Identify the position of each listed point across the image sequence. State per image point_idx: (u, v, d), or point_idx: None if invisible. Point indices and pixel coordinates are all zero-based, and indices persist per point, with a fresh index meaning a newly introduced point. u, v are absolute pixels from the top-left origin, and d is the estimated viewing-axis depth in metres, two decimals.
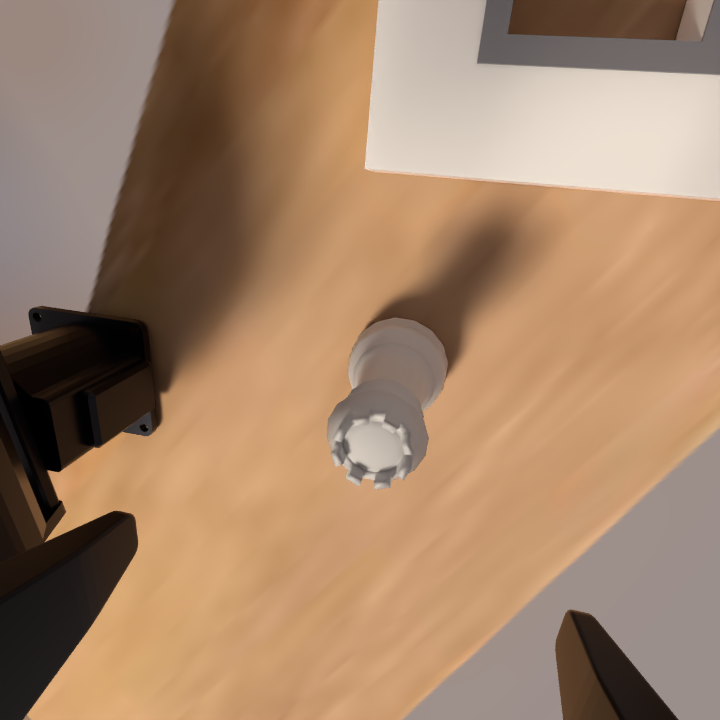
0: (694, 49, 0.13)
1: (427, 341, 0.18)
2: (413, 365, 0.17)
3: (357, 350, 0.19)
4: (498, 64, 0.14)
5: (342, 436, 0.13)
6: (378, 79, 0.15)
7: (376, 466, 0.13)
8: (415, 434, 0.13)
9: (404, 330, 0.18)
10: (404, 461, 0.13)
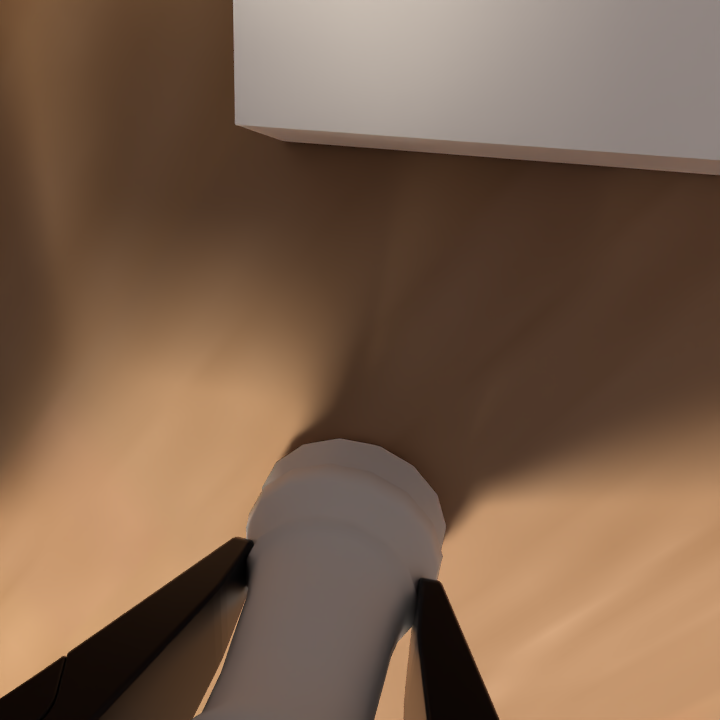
0: None
1: (401, 506, 0.08)
2: (364, 588, 0.07)
3: (258, 515, 0.09)
4: None
5: None
6: None
7: None
8: None
9: (352, 482, 0.08)
10: None
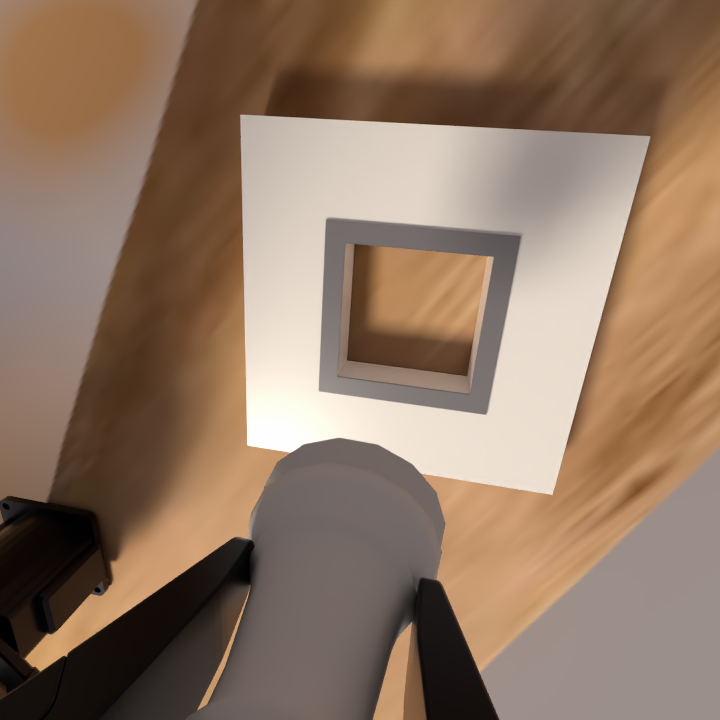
0: (465, 398, 0.18)
1: (400, 503, 0.09)
2: (364, 584, 0.07)
3: (259, 514, 0.09)
4: (333, 393, 0.19)
5: None
6: (250, 392, 0.20)
7: None
8: None
9: (352, 480, 0.09)
10: None
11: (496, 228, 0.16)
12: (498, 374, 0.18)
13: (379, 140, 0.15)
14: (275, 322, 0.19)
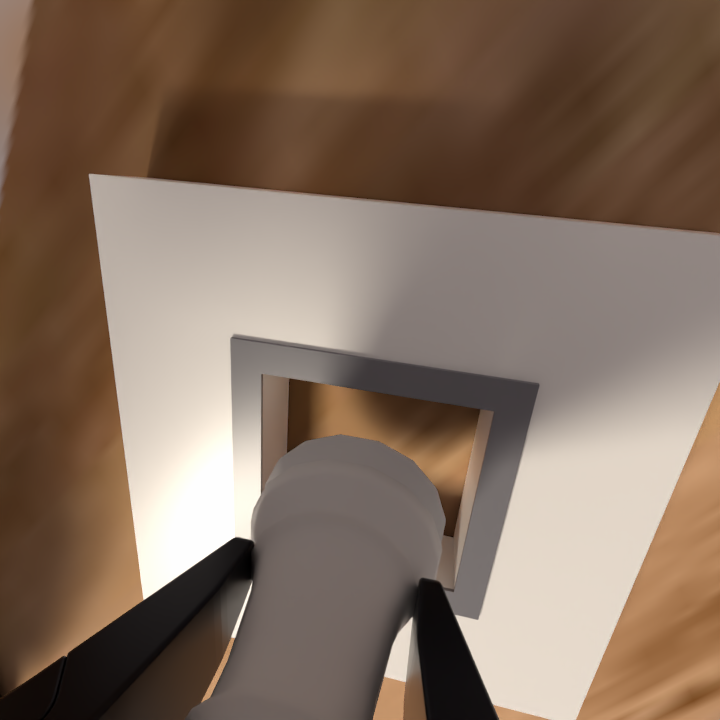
0: (447, 596, 0.12)
1: (401, 499, 0.09)
2: (365, 579, 0.07)
3: (261, 510, 0.09)
4: None
5: None
6: (143, 553, 0.14)
7: None
8: None
9: (353, 476, 0.09)
10: None
11: (499, 369, 0.10)
12: (497, 570, 0.12)
13: (308, 224, 0.09)
14: (169, 470, 0.13)
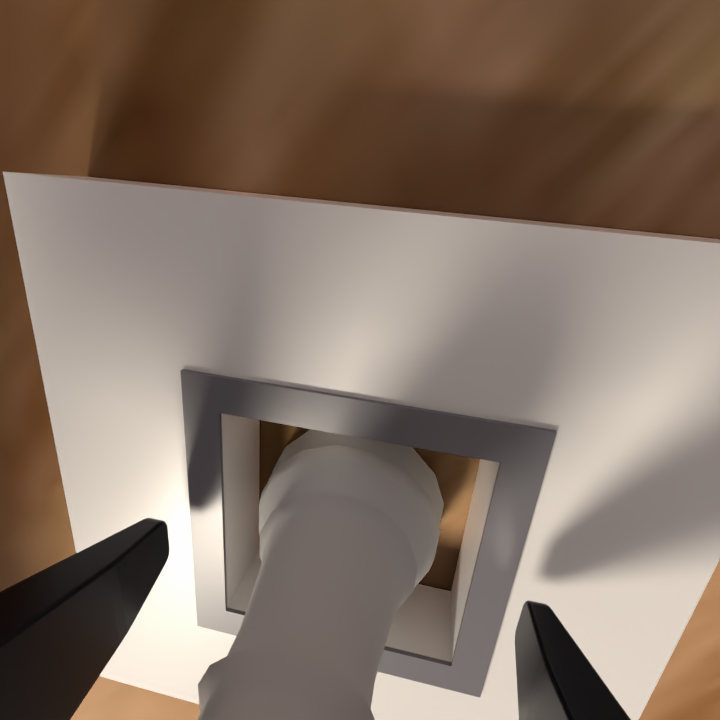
0: (443, 671, 0.10)
1: (401, 482, 0.09)
2: (368, 553, 0.08)
3: (269, 493, 0.10)
4: (223, 630, 0.11)
5: None
6: None
7: None
8: None
9: (356, 460, 0.09)
10: None
11: (506, 413, 0.08)
12: (503, 642, 0.10)
13: (270, 234, 0.08)
14: (117, 520, 0.11)
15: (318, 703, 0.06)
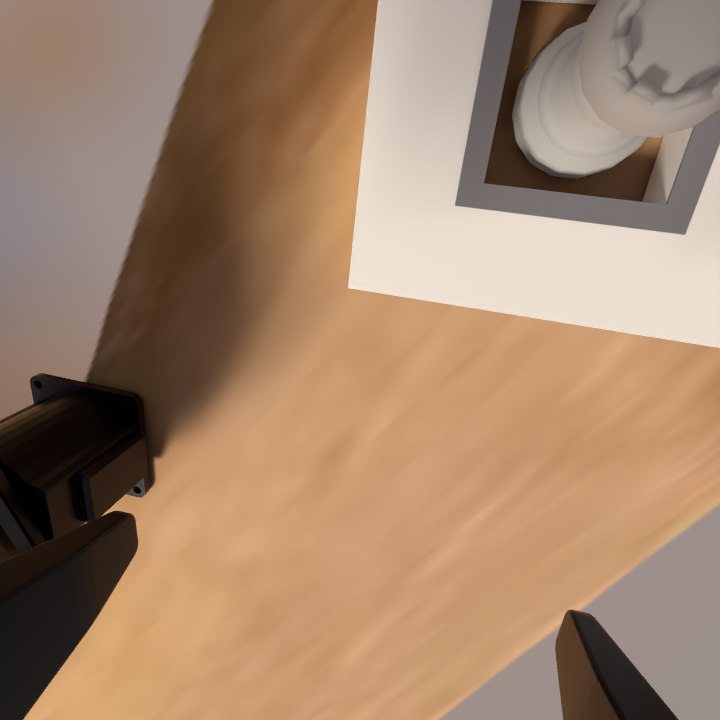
0: (659, 211, 0.14)
1: None
2: None
3: (543, 58, 0.13)
4: (475, 208, 0.15)
5: None
6: (362, 211, 0.16)
7: (683, 72, 0.08)
8: None
9: None
10: None
11: None
12: (713, 173, 0.13)
13: None
14: (409, 104, 0.14)
15: None
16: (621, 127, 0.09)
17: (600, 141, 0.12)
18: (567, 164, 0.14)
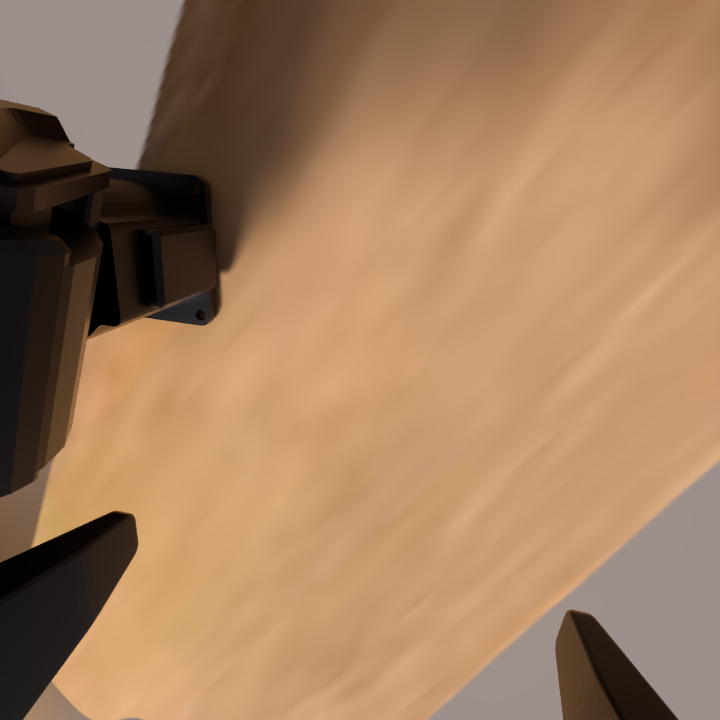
0: None
1: None
2: None
3: None
4: None
5: None
6: None
7: None
8: None
9: None
10: None
11: None
12: None
13: None
14: None
15: None
16: None
17: None
18: None
